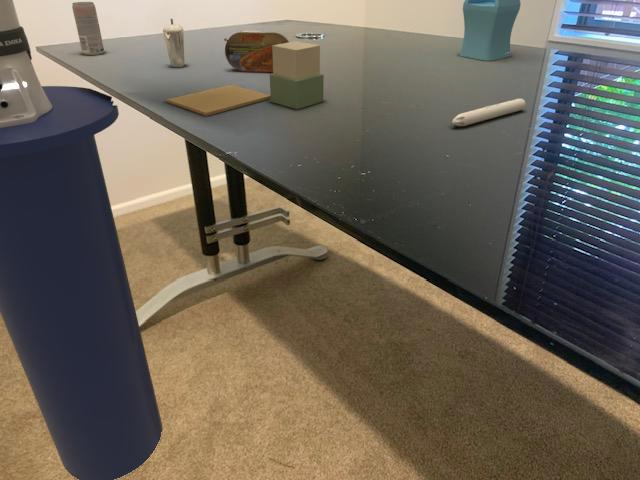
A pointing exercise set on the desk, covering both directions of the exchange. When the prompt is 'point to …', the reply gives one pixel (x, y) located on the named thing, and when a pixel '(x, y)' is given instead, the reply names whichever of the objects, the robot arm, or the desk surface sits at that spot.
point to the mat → (218, 99)
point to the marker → (488, 112)
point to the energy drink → (88, 28)
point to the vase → (488, 28)
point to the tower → (296, 75)
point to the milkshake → (175, 44)
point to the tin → (252, 50)
